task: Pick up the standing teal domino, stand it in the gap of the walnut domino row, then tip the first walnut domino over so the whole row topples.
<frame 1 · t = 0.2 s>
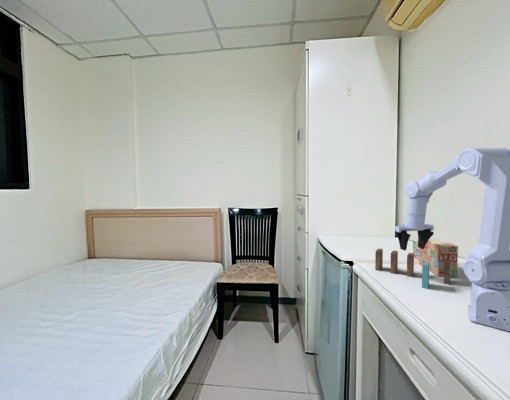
hand: (412, 248, 90), 10 cm above the worktop, tool pointing down, fingers open, 7 cm apart
walnut domino 5: (378, 268, 98), on the worktop
walnut domino 1: (446, 281, 84), on the worktop
teal domino: (425, 286, 81), on the worktop
walnut domino 3: (410, 274, 91), on the worktop
stack of blocks: (432, 268, 99), on the worktop
walnut domino 4: (394, 271, 95), on the worktop
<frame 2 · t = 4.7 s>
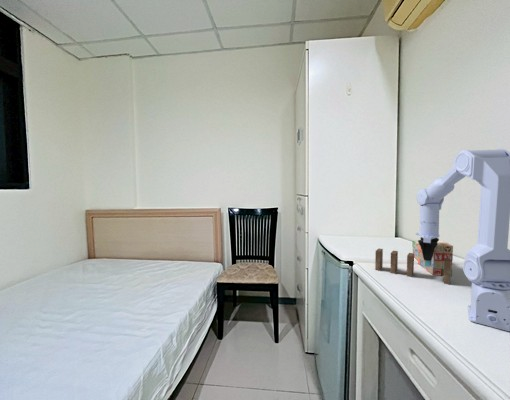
hand: (428, 258, 87), 7 cm above the worktop, tool pointing down, fingers closed on teal domino, 5 cm apart
teal domino: (427, 264, 87), point 5 cm above the worktop, touching gripper
when the fingers open (3 cm above the worktop, at t = 6.1 s): teal domino stays where it is, on the worktop.
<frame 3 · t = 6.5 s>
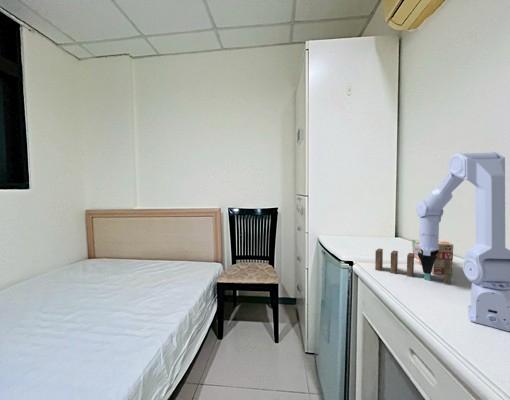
hand: (427, 270, 87), 3 cm above the worktop, tool pointing down, fingers open, 7 cm apart
teal domino: (427, 278, 87), on the worktop
stack of blocks: (430, 266, 100), on the worktop, touching gripper
everything else where it was.
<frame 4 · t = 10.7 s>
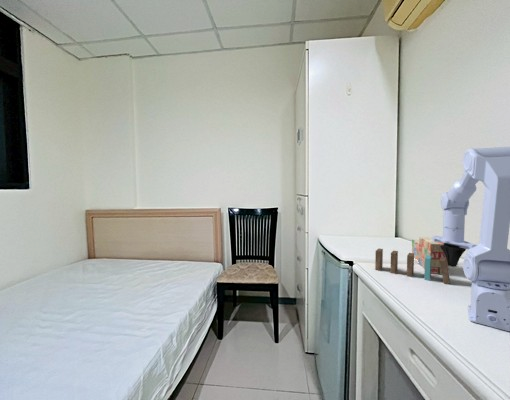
hand: (452, 265, 83), 6 cm above the worktop, tool pointing down, fingers closed
walnut domino 1: (446, 281, 84), on the worktop, tilted 9°
stack of blocks: (428, 266, 101), on the worktop
everything else where it was.
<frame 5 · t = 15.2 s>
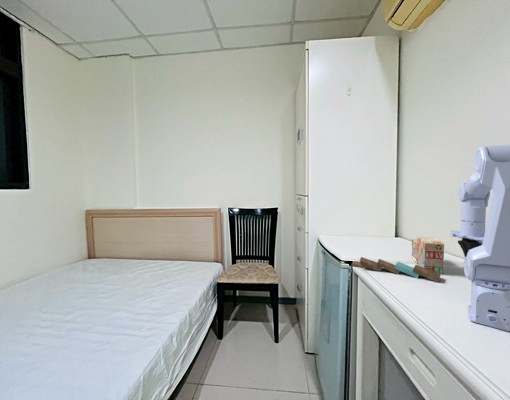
hand: (471, 263, 75), 9 cm above the worktop, tool pointing down, fingers closed
walnut domino 5: (372, 267, 99), on the worktop, tilted 90°, touching walnut domino 4
walnut domino 1: (439, 278, 85), point 1 cm above the worktop, tilted 75°, touching teal domino
teal domino: (419, 274, 89), point 1 cm above the worktop, tilted 75°, touching walnut domino 1, walnut domino 3
walnut domino 3: (399, 270, 93), point 1 cm above the worktop, tilted 74°, touching teal domino, walnut domino 4
walnut domino 4: (380, 267, 97), point 1 cm above the worktop, tilted 75°, touching walnut domino 3, walnut domino 5
at the end: walnut domino 5 tilted 90°; teal domino tilted 75°; teal domino inside the target area (1.1 cm from its centre), point 0.7 cm above the worktop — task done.
